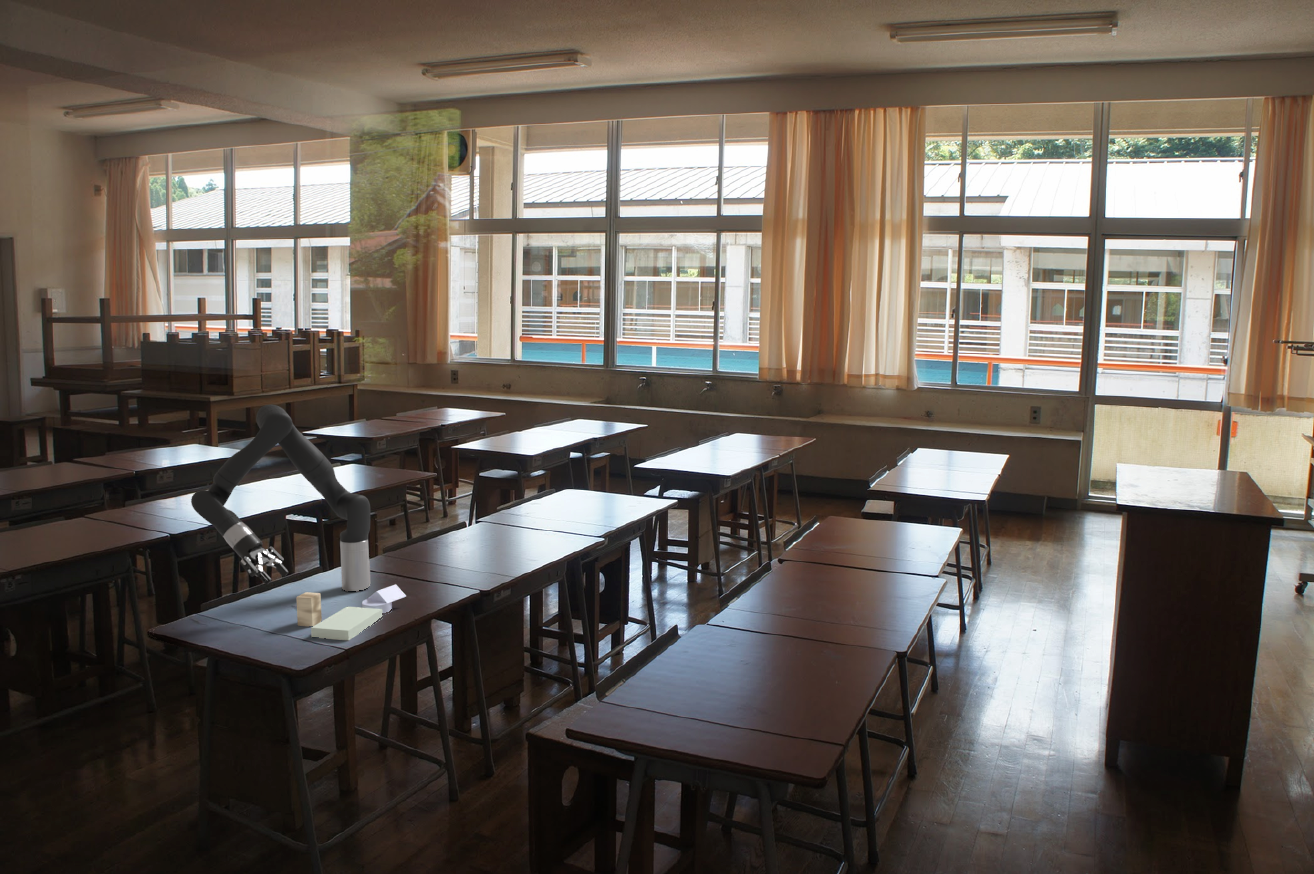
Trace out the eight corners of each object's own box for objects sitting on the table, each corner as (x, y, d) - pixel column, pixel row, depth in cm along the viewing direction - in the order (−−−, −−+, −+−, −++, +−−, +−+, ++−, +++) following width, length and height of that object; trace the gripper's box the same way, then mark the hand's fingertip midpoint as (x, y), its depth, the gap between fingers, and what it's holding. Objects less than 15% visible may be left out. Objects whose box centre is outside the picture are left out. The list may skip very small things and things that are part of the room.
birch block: (307, 620, 281) (305, 592, 280) (321, 621, 280) (320, 593, 279) (297, 625, 276) (296, 597, 275) (312, 626, 275) (311, 598, 274)
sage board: (347, 615, 286) (347, 606, 285) (382, 618, 283) (382, 609, 283) (311, 637, 266) (311, 627, 266) (348, 640, 264) (348, 630, 263)
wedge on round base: (386, 601, 300) (356, 613, 288) (385, 582, 299) (355, 592, 287) (406, 606, 296) (377, 617, 284) (406, 586, 295) (376, 596, 283)
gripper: (234, 537, 272) (271, 577, 271) (264, 527, 285) (298, 564, 285) (220, 554, 273) (256, 593, 273) (250, 542, 287) (284, 579, 286)
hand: (277, 578), depth 279 cm, fingers open, 8 cm apart
